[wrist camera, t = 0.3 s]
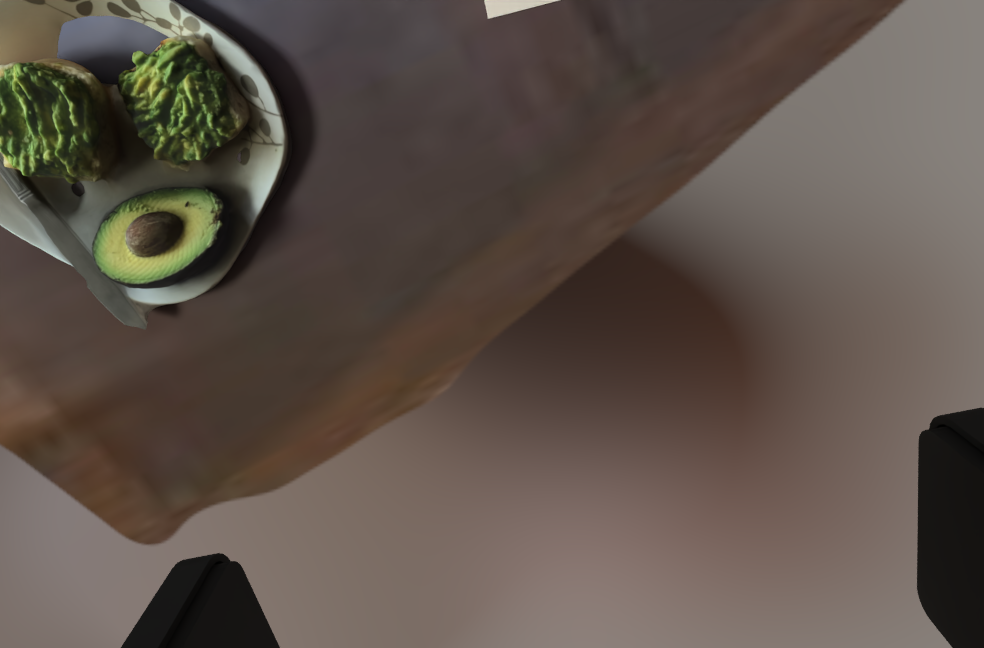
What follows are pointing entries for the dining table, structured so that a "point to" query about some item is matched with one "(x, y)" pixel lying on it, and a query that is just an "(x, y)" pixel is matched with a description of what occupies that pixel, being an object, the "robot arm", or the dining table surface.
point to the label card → (511, 6)
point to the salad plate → (137, 152)
